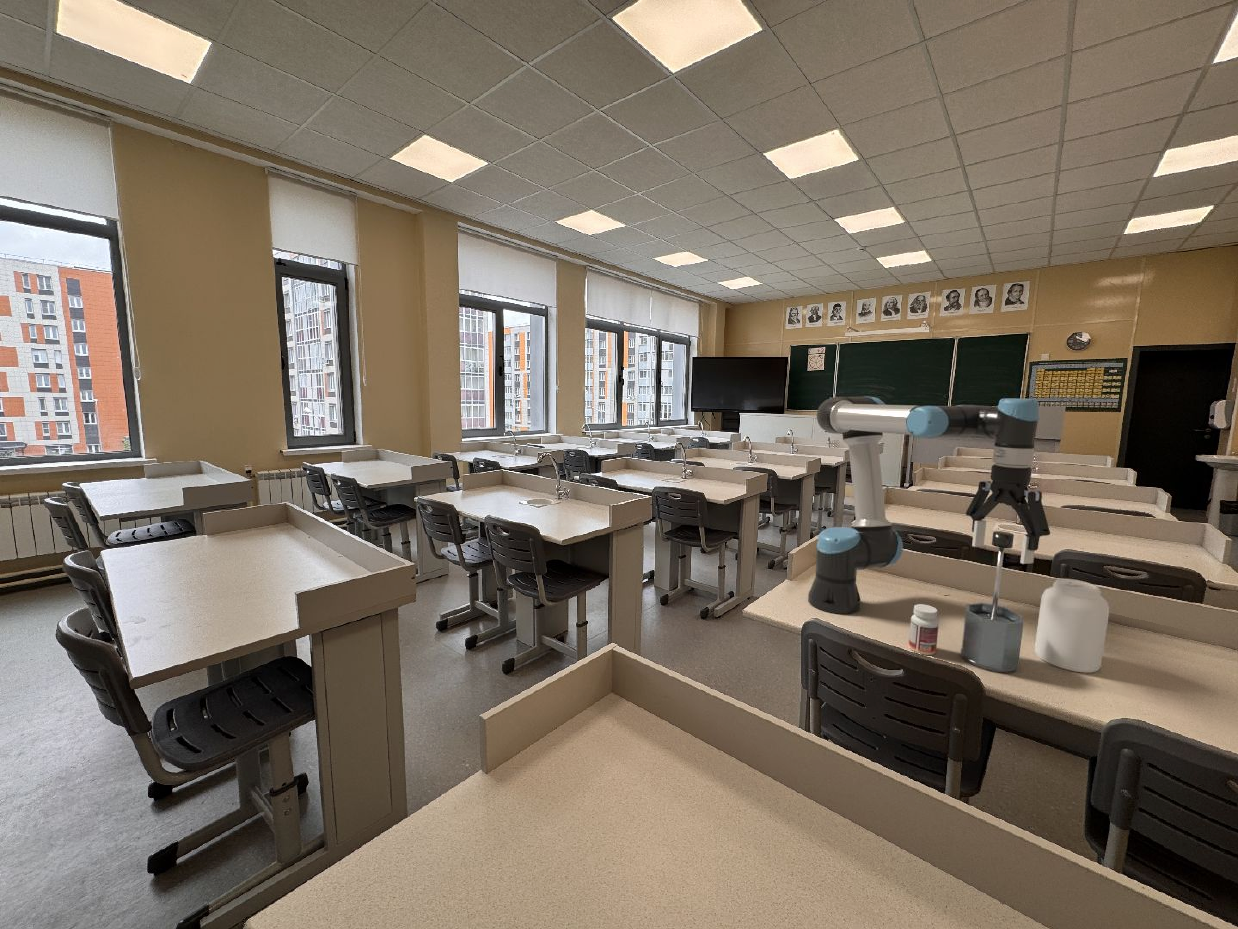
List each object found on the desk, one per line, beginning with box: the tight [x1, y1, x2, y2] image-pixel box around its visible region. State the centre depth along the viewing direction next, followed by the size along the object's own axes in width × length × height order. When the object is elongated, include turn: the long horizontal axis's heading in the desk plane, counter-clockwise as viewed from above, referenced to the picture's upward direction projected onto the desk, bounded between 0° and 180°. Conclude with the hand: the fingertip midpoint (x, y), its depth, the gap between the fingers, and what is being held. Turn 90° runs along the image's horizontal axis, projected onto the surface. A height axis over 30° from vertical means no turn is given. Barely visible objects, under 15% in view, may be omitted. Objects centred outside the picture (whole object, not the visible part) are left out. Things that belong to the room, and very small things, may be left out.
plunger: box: [977, 530, 1015, 623], centre depth 126 cm, size 8×8×23 cm
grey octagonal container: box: [960, 602, 1025, 674], centre depth 129 cm, size 12×14×12 cm
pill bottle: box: [908, 603, 939, 656], centre depth 134 cm, size 6×6×11 cm
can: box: [1034, 578, 1110, 674], centre depth 128 cm, size 12×12×20 cm
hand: (1001, 554), depth 125 cm, fingers open, 12 cm apart
